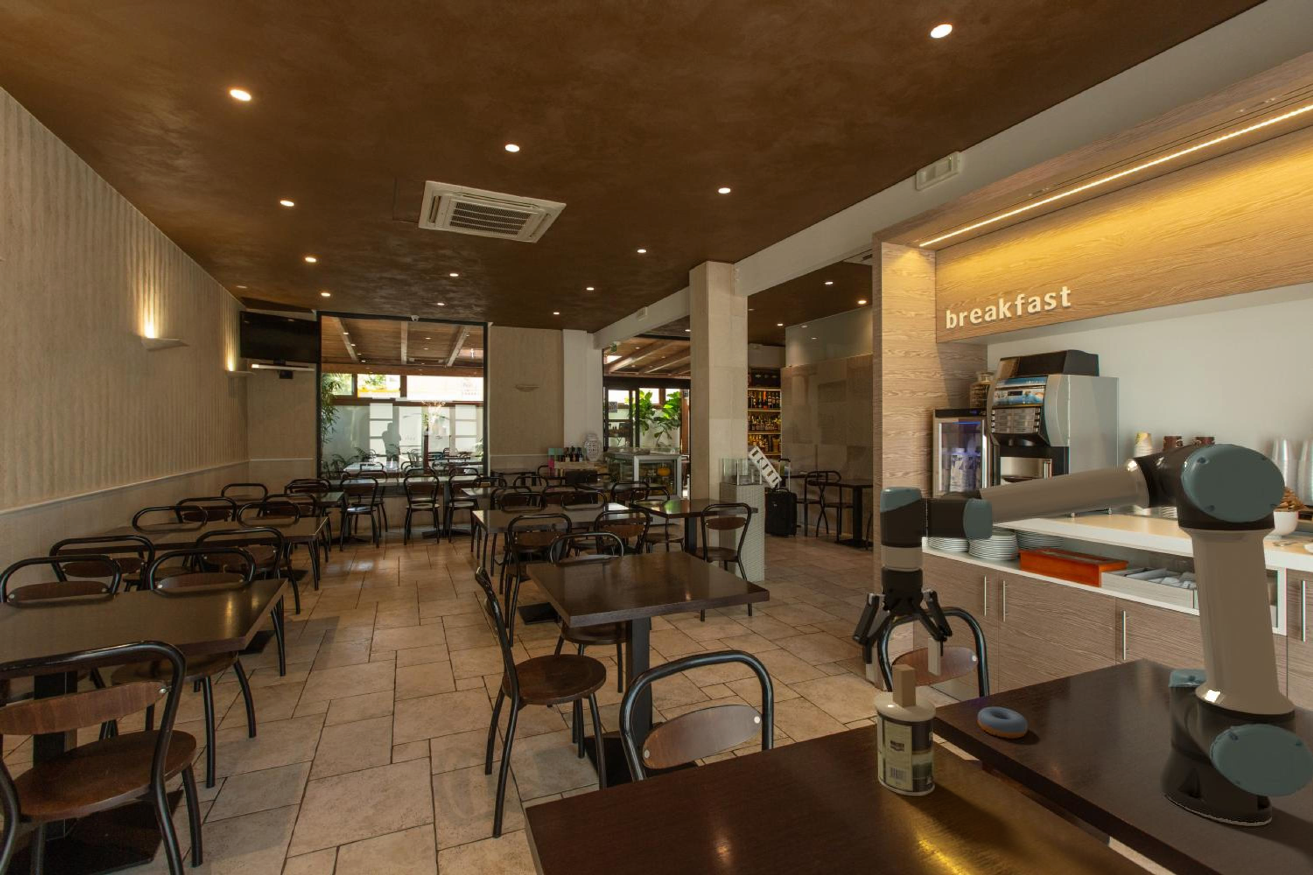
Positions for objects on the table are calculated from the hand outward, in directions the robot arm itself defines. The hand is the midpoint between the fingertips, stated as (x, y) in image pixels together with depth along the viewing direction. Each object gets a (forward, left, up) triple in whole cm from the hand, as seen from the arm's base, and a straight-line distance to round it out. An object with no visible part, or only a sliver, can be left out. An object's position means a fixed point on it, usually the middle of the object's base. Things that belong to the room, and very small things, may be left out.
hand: (903, 676), depth 120 cm
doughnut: (-21, -30, -21) cm, 42 cm away
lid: (0, 0, -6) cm, 6 cm away
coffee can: (0, 0, -20) cm, 20 cm away
